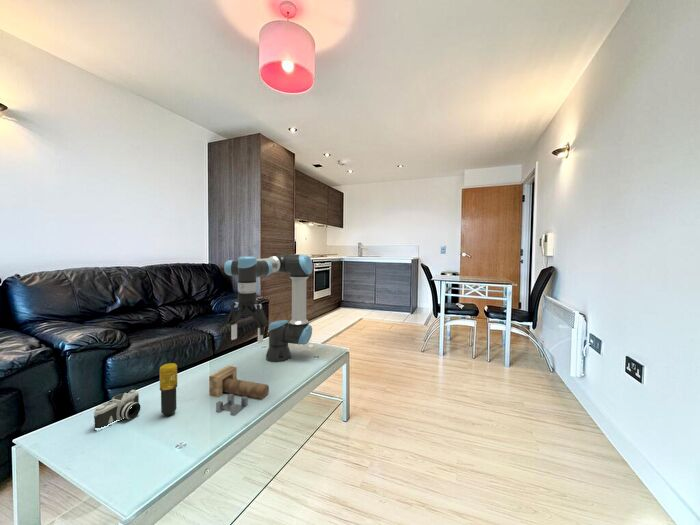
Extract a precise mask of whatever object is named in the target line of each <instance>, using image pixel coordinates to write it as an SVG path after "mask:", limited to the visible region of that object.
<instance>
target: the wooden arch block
mask: <svg viewBox="0 0 700 525" xmlns="http://www.w3.org/2000/svg"><path fill="white" fill-rule="evenodd" d="M237 368H238V367H237V366H233V365H232V366H231V365H227V366H225V367H223V368H221V369H219V370H218V371H215V372H214V373H212V374H210V375H209V376H208V377H209V378H208V381H209V382H208V388H209V389H208V390H209V391H208V392H209V393H208V394H209V396H210V397H217V398H219V397H220V396H222V395H223V392H222V379H224V378H231V379H237V380H238V377H237V376H238V375H237V373H238V370H237Z"/></svg>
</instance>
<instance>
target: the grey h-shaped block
mask: <svg viewBox="0 0 700 525" xmlns="http://www.w3.org/2000/svg"><path fill="white" fill-rule="evenodd" d="M226 396H227V400H226V403H225V404H224V401H222V400H221V401H220V400H219V401H217V402H216V403H215V412H216V413H219V414H220V413H221V412H223V411H224V412H225V411H226V412H230V415H231V416H237V414H239V413H241V411H242V410H244V409H245V408H247V407H248V406H249V405H248V404H249V400H248V398H249V397H248V396H243V395H242V397H241V398H240V400H241V401H240V403H241V404H236V403H235V394H233V393H228V394H227V395H226Z"/></svg>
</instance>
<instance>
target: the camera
mask: <svg viewBox="0 0 700 525" xmlns="http://www.w3.org/2000/svg"><path fill="white" fill-rule="evenodd" d="M131 407H132V409H131V410H132V411H131V410H130V408H131ZM130 411H131V413H130V415H129V412H130ZM140 411H141V404H140V399H139V391H138V390H136V389H131V390H130V391H129V392H128V393H127V392H122V393H117V394H115V395H113V396H112V397H111V400H109V401H106V402H103V403H101V404H100V405H99V406H97V407H96V408H95V409H94V412H93V418H94V420H93V422H94V428H101V427H104V426H107V425H108V424H110V423H112V422H114V421H116V420H121V419H123V418H125V419H126V420H132V419H135V417H137V416H138V415H139V413H140ZM125 419H124V420H125Z"/></svg>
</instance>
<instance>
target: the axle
mask: <svg viewBox="0 0 700 525" xmlns="http://www.w3.org/2000/svg"><path fill="white" fill-rule="evenodd" d="M269 391H270V387H269V385H268V384H265V383H259V382H253V381H247V380H242V379H238V378H237V379H231V378H224V379H222V393H228V394H234V395H238V396H242V397H243V396H245V397H248V398H249V397H250V398H255V399H260V400H263V399H265V398H266V397H267V396H268V395H269Z"/></svg>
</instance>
